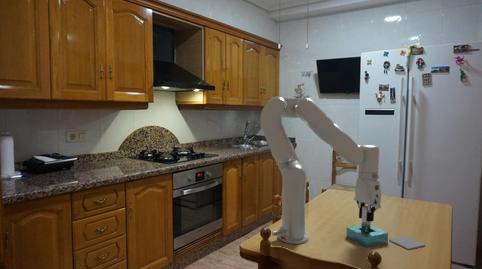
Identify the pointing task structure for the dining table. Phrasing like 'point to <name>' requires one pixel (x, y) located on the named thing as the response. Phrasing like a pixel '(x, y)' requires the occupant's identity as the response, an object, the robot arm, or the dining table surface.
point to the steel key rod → (365, 225)
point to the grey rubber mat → (407, 242)
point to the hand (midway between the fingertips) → (366, 219)
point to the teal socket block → (367, 236)
